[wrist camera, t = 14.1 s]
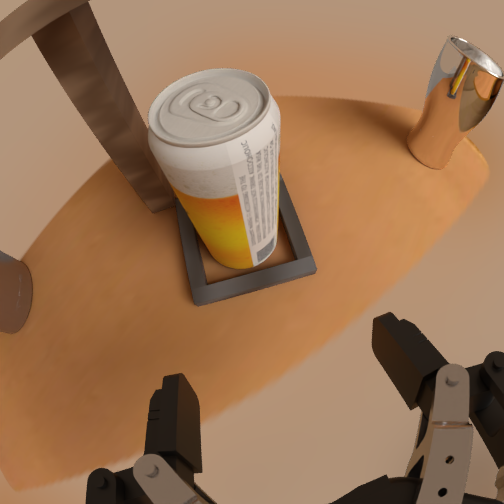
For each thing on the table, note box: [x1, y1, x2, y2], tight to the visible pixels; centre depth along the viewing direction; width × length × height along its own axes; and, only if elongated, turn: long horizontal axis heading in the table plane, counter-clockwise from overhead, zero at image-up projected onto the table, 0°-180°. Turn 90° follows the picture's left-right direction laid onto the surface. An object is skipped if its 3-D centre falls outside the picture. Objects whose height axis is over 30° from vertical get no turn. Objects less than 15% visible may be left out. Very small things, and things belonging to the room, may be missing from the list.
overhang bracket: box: [0, 0, 317, 306], centre depth 15 cm, size 13×16×23 cm
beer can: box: [148, 68, 280, 269], centre depth 17 cm, size 6×6×15 cm
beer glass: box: [407, 35, 504, 169], centre depth 20 cm, size 7×7×15 cm
